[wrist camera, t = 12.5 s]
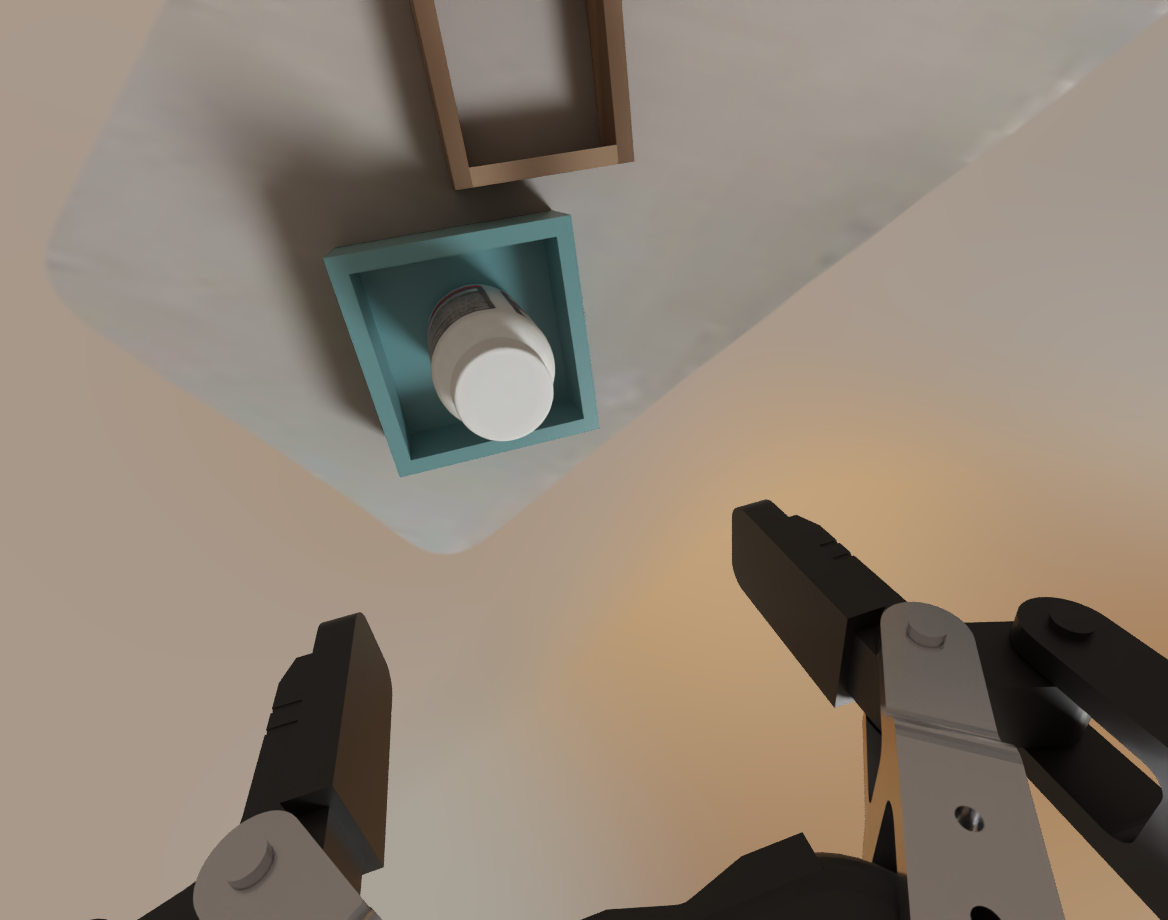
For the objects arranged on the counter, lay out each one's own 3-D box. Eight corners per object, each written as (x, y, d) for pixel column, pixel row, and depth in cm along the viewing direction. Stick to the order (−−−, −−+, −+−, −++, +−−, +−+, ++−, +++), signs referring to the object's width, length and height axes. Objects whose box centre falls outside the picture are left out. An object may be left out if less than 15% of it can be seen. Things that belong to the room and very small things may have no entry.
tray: (552, 210, 29) (570, 214, 25) (581, 403, 34) (599, 428, 31) (334, 248, 27) (323, 258, 23) (401, 445, 32) (399, 477, 29)
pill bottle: (423, 376, 30) (429, 454, 22) (429, 275, 28) (438, 318, 19) (520, 384, 32) (560, 459, 23) (533, 289, 30) (582, 335, 21)
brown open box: (597, -58, 24) (615, -80, 22) (617, 162, 28) (634, 161, 26) (400, -40, 23) (399, -62, 21) (452, 189, 27) (455, 190, 25)
